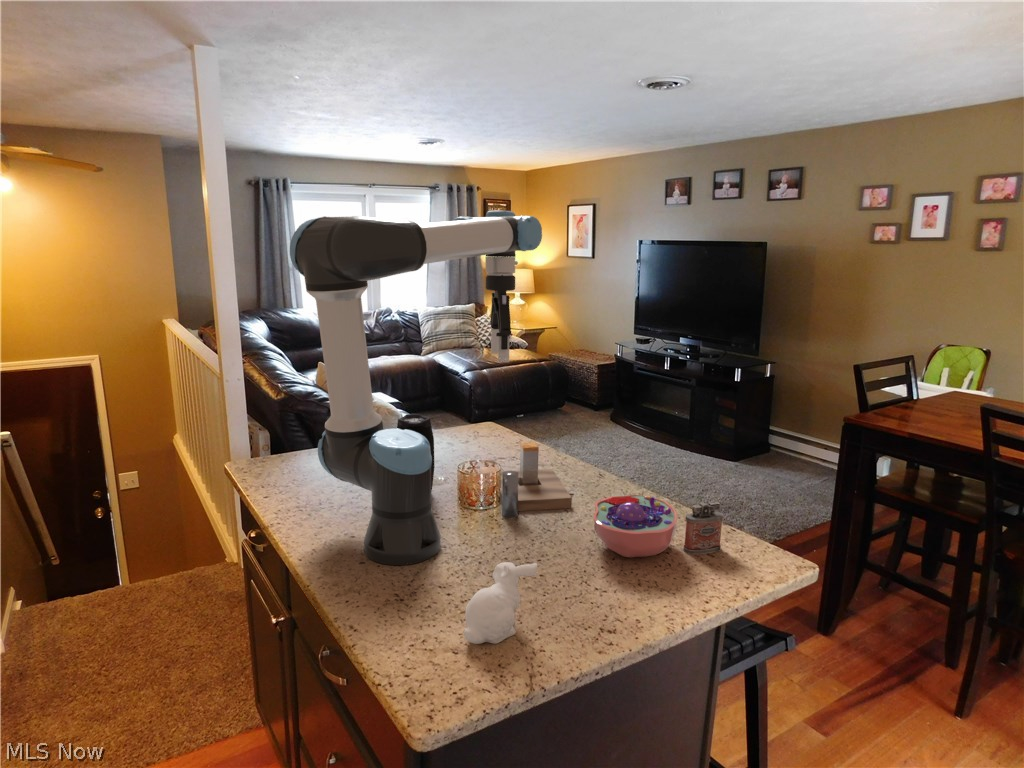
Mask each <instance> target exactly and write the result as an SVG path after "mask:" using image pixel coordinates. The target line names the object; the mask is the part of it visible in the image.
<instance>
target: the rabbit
mask: <svg viewBox="0 0 1024 768" xmlns="http://www.w3.org/2000/svg"><path fill="white" fill-rule="evenodd" d="M537 573H538V563H537V562H534V563H527V564H521V565H517V566H516V564H515V563H513V562H509V561H508V562H507V561H506V562H505V561H503V562H499V563H498V564H497V565H496V566H495V568H494V570H493V573H492V579H493V580H494V583H493V584H492V585H491V586H489V587H484V588H480V589H479V590H478V591H476V592H475V593H474V595H473V596H472V597H471V599H470V600H469V601H468V603H467V605H466V607H465V612H464V614H465V617H464V619H465V627H466V628H465V629H464V630H463V636H464V640H466V641H467V642H469V643H471V644H476V645H481V644H483V643H490V644H499V643H500V642H503V641H504V640H505V639H508V638H509V637H511V636H512V637H513V636H514V635H515V634H516V633H517V631H516V629H515V627H514V625H515V621H516V612H515V611H517V609H518V608H519V606H520V602H521V593H520V590H519V588H518V584H519V581H520V577H519V576H521V577H535V576H536V575H537Z"/></svg>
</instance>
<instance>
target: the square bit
mask: <svg viewBox="0 0 1024 768" xmlns="http://www.w3.org/2000/svg"><path fill="white" fill-rule="evenodd" d="M539 448H540V447H539V445H538V444H537V443H536V442H520V449H519V451H520V453H519V457H520V458H519V471H520V486H526V485H538V470H539V455H540V454H539V453H540V452H539V451H540V450H539Z"/></svg>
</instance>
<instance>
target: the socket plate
mask: <svg viewBox="0 0 1024 768" xmlns="http://www.w3.org/2000/svg"><path fill="white" fill-rule="evenodd" d="M500 471H501V488H500V499H499V502H500V501H501V502H500V504H501V506H502V477H503V472H505V471H506V470H504V471H503V470H500ZM515 471H516V472H518V473H519V476H518V512H521V511H537V510H539V511H541V510H558V509H560V510H561V509H571V508H572V503H573V502H572V500H573V498H572V496H571V494H570V493H569V492H568V490H567V488H566V487H565V486H564V484H563V483H562V481H561V480H560V479H559V476H557V474H556V472H555V470H553V469H551V468H549V469H548V468H545V469H544V468H543V469H538V485H526V486H520V470H515Z"/></svg>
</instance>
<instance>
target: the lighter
mask: <svg viewBox="0 0 1024 768" xmlns="http://www.w3.org/2000/svg"><path fill="white" fill-rule="evenodd" d="M721 505H722V504H721V502H718V501H717V502H708V503H705V502H704V501H700V502H699V503H698V504H695V505H694V504H693V505H692V506H691V507H692V508H691V511H692V513H687V514H685V521H686V522H685V534H684V535H685V536H684V544H683V548H682V549H683V552H684V553H686V554H688V555H703V554H711V553H716V552H719V551H721V547H722V545H721V539H722V538H721V537H722V527H723V525H722V524H723V520H724V514H723V513H722V512H720V511H719V510H721V508H722V506H721Z"/></svg>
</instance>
